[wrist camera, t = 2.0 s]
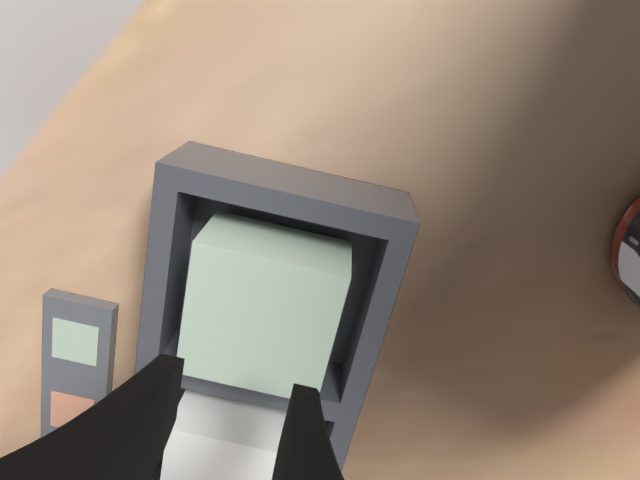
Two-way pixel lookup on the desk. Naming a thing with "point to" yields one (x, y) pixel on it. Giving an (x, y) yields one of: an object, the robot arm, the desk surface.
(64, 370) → the card
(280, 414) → the white key
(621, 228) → the supplement bottle
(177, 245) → the grey divided tray
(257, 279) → the sage key
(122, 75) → the desk surface
